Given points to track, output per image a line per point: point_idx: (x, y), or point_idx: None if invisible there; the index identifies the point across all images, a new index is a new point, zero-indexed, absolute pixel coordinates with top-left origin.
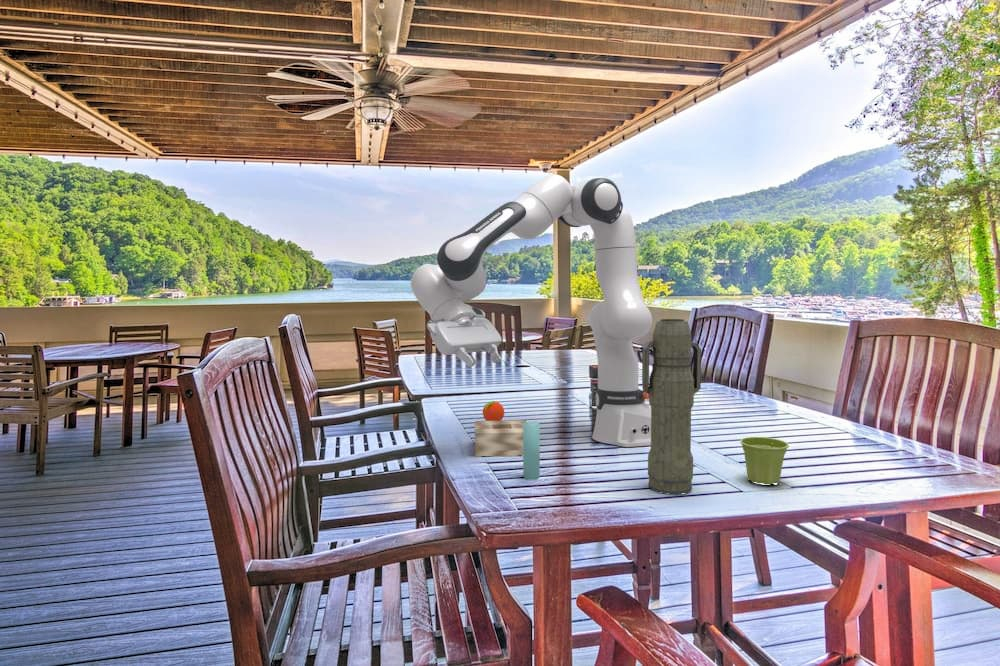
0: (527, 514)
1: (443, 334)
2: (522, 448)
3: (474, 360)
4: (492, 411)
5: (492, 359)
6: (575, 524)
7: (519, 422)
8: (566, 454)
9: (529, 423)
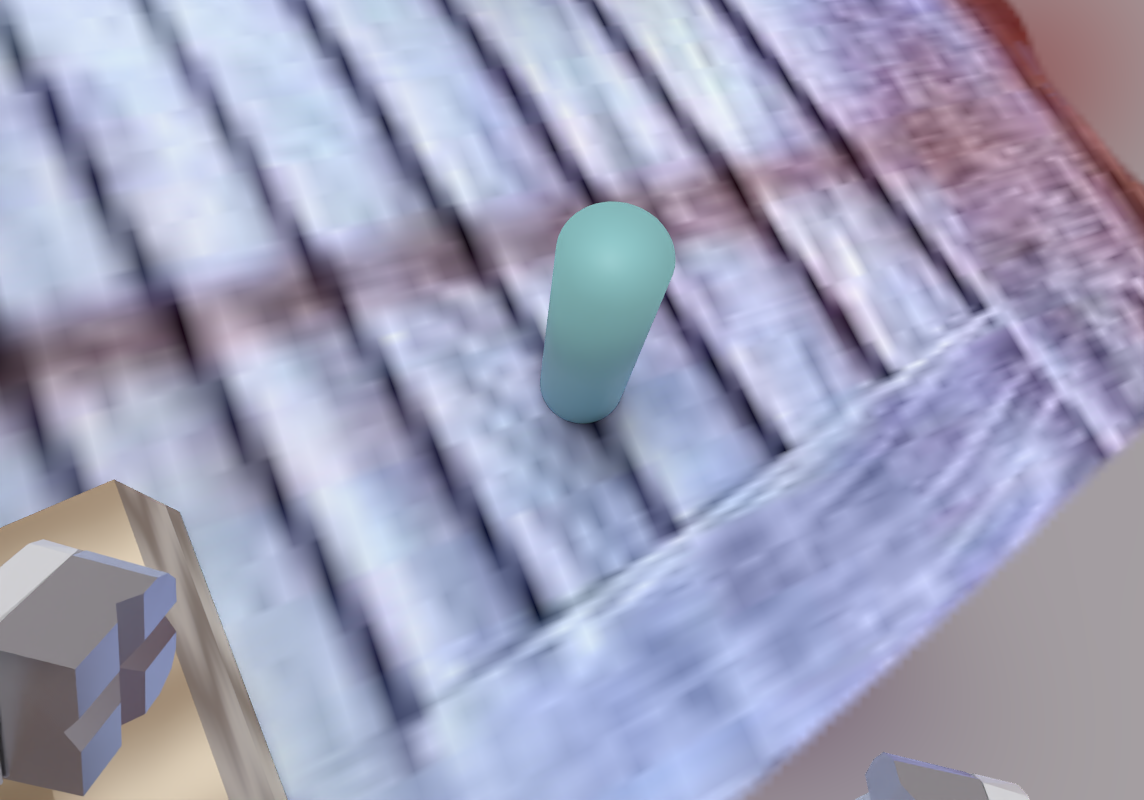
0: (1011, 261)
1: None
2: (181, 557)
3: (936, 783)
4: None
5: (121, 716)
6: (1004, 95)
7: None
8: (93, 329)
9: (614, 268)
